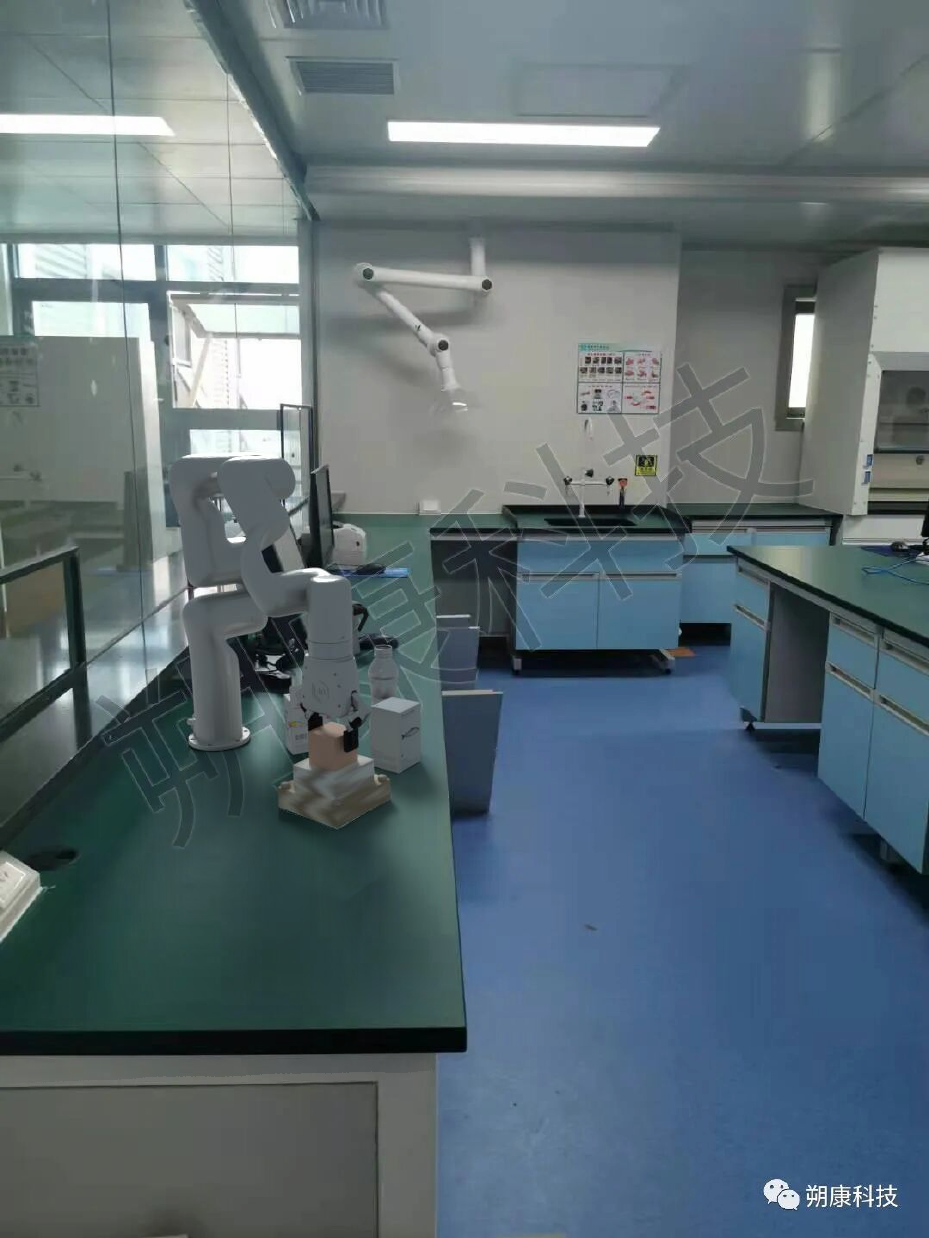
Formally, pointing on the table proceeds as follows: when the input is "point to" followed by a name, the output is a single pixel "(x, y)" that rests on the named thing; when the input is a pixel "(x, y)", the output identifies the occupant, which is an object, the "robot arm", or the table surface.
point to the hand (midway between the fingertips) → (333, 744)
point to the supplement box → (395, 734)
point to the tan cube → (329, 747)
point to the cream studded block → (334, 791)
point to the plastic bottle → (383, 675)
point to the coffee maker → (356, 611)
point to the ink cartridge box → (296, 723)
